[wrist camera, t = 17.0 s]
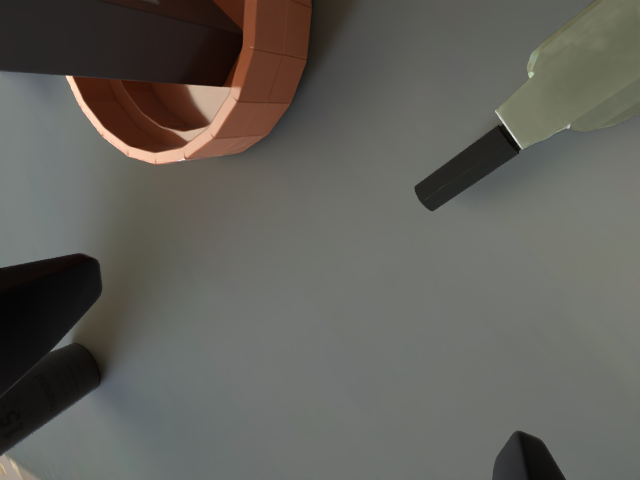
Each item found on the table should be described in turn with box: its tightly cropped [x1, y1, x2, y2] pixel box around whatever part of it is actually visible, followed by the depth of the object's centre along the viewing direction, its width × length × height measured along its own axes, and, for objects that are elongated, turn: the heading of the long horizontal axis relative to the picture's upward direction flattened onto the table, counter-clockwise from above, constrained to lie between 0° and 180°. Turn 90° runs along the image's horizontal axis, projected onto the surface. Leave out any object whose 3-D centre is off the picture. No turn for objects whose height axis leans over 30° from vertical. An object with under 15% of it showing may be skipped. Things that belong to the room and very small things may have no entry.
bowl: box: [66, 0, 312, 165], centre depth 20 cm, size 13×13×4 cm
